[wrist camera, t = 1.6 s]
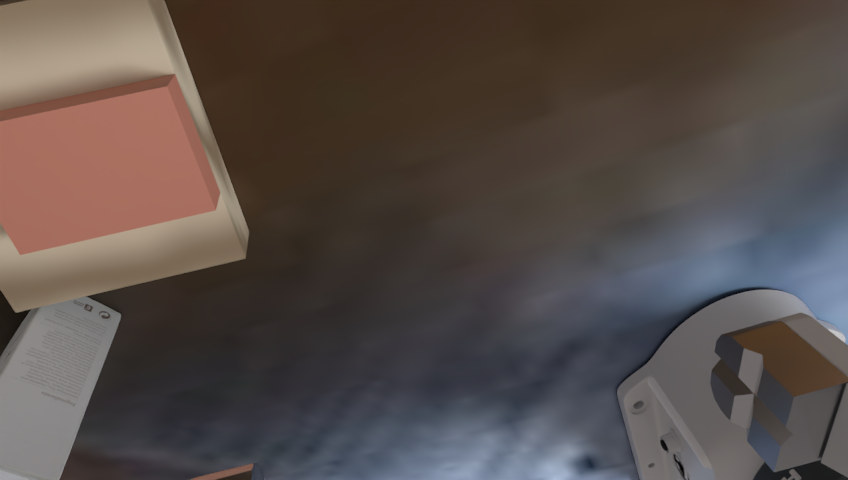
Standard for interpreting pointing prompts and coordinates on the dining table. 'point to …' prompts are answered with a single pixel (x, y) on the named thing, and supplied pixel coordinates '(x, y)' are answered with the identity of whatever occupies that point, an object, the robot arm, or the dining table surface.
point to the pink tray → (101, 165)
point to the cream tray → (90, 71)
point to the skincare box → (50, 384)
